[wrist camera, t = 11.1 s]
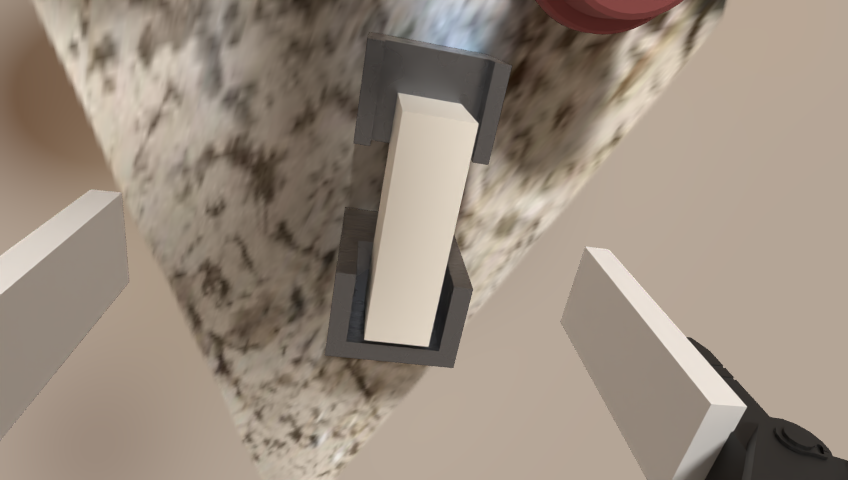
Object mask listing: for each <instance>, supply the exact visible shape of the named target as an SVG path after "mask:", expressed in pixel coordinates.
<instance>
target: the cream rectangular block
mask: <svg viewBox="0 0 848 480" xmlns="http://www.w3.org/2000/svg"><path fill="white" fill-rule="evenodd" d="M478 125H479V124H478V122H477V121H476V120H475V119H474V118H473V117H472V116H471V114H470V113H469V112H468V111H467V110H466V109H465V108H464V106H463V105H462V104H459V103H453V102H448V101H442V100H436V99H431V98H425V97H420V96H414V95H408V94H403V93H398V95H397V101H396V107H395V113H394V119H393V126H392V132H391V138H390V144H389V150H388V156H387V163H386V169H385V175H384V181H383V187H382V193H381V200H380V206H379V212H378V218H377V224H376V231H375V237H374V243H373V249H372V255H371V261H370V268H369V274H368V280H367V286H366V296H365V329H364V340H368V341H378V342H387V343H397V344H406V345H416V346H425V347H428V346H429V342H430V337H431V333H432V328H433V324H434V320H435V315H436V311H437V306H438V302H439V298H440V293H441V289H442V284H443V280H444V275H445V271H446V267H447V262H448V258H449V253H450V249H451V244H452V240H453V236H454V231H455V227H456V222H457V218H458V213H459V209H460V205H461V200H462V196H463V191H464V187H465V182H466V178H467V174H468V169H469V165H470V160H471V156H472V151H473V147H474V143H475V138H476V134H477V129H478Z"/></svg>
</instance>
